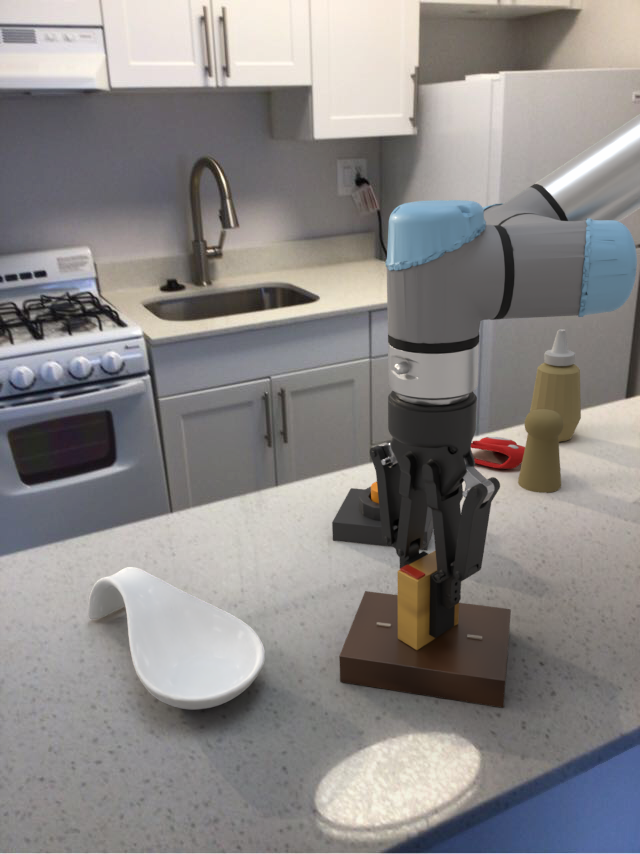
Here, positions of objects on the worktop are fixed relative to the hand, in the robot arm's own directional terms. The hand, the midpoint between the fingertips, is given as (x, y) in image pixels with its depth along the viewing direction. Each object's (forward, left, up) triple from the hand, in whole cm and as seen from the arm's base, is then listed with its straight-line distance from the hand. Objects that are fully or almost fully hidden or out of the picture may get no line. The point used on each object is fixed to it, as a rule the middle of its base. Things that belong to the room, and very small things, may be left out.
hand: (428, 622), depth 73 cm
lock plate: (0, 0, -4) cm, 4 cm away
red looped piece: (-2, -50, -4) cm, 50 cm away
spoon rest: (+25, +6, -4) cm, 26 cm away
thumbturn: (0, 0, -1) cm, 1 cm away
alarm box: (+9, -25, -4) cm, 27 cm away
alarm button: (+9, -25, 0) cm, 27 cm away
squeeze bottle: (-12, -61, -4) cm, 62 cm away
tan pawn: (-10, -42, -4) cm, 43 cm away
